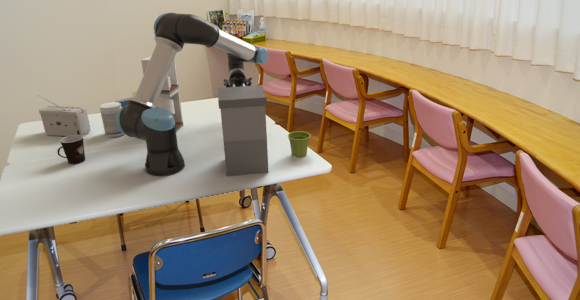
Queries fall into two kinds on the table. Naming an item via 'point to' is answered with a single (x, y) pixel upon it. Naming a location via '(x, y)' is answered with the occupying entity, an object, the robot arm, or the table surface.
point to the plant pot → (299, 143)
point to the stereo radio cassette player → (65, 120)
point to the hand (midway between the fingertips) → (239, 90)
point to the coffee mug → (73, 149)
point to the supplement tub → (110, 118)
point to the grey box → (244, 129)
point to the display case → (169, 94)
